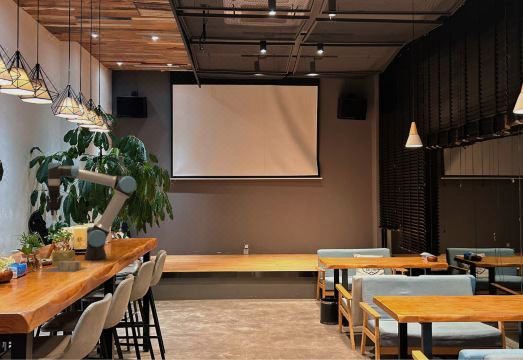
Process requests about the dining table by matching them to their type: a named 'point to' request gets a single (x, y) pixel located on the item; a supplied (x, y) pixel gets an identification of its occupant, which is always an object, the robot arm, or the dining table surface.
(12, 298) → the dining table surface
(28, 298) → the dining table surface
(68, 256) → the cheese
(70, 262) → the block
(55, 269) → the mat
